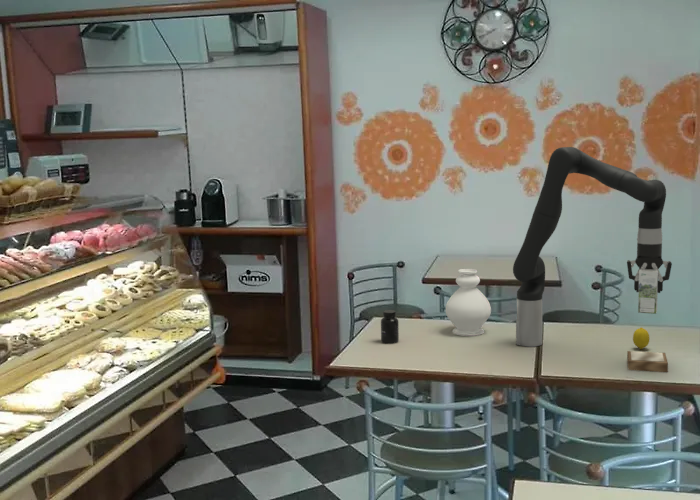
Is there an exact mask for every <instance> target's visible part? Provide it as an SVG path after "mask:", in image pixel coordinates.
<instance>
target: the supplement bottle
mask: <svg viewBox="0 0 700 500" xmlns="http://www.w3.org/2000/svg"><path fill="white" fill-rule="evenodd" d="M382 313H383V315H382V318H381V320H380V341H381V342H382V343H383V344H389V345H391V344H397V343H398V342H399V338H400V337H399V336H400V335H399V334H400V333H399V329H400V328H399V327H400V326H399V319H398V318H397V314H396V313H397V312H396V310H394V309H393V310H392V309H386V310H384V311H383V312H382Z"/></svg>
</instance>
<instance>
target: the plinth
mask: <svg viewBox="0 0 700 500" xmlns="http://www.w3.org/2000/svg"><path fill="white" fill-rule="evenodd" d="M626 355H627V358H626V360H627V370H629V371H642V372H659V373H668V372H669V371H668V370H669V362H668V358H667V356H666V353H665V352H654V351H633V350H627V353H626Z"/></svg>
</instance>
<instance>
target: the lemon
mask: <svg viewBox="0 0 700 500" xmlns="http://www.w3.org/2000/svg"><path fill="white" fill-rule="evenodd" d="M632 341H633V344H634V345H635V347H637V348H638V349H639V350H643V349H644V348H646V347H648V345H649V344H650V334H649V332H648V330H646V329H645V328H643V327H640V328H637V329H636V330H634V332H633V335H632Z"/></svg>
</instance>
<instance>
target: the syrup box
mask: <svg viewBox="0 0 700 500" xmlns="http://www.w3.org/2000/svg"><path fill="white" fill-rule="evenodd" d="M638 270H639V292H638V297H637V298H638V299H637V300H638V303H637V305H638V307H637V312H638V314H639V313H640V314H651V315H653V314H655V315H656V314H657V312H658V295H659V293H658V281H659V279H658V271H657V270H654V269H645V270H643V269H642V270H640V269H639V268H638Z"/></svg>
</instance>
